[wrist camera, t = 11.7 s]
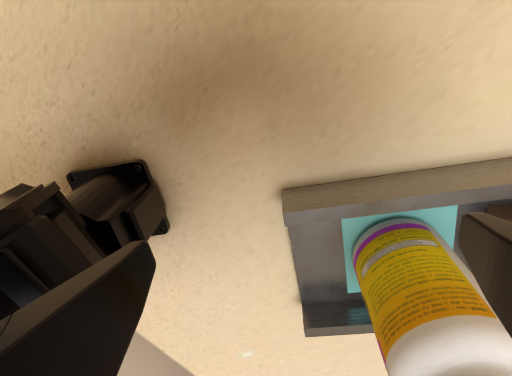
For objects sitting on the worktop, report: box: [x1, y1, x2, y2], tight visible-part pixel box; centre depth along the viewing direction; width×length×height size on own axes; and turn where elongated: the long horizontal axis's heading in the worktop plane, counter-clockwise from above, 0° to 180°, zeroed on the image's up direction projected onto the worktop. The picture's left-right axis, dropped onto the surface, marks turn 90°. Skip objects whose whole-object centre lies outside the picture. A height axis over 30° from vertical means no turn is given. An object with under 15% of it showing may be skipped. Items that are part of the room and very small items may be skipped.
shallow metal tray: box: [283, 157, 512, 337], centre depth 22 cm, size 22×12×4 cm, turn 101°
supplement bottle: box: [352, 218, 512, 376], centre depth 17 cm, size 7×7×13 cm
